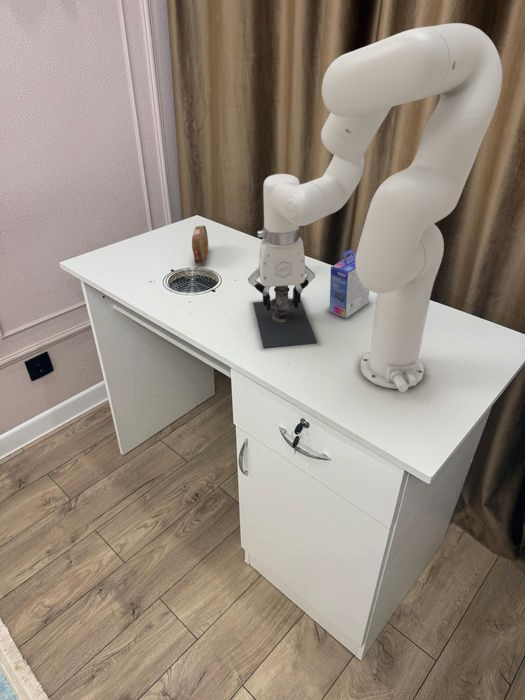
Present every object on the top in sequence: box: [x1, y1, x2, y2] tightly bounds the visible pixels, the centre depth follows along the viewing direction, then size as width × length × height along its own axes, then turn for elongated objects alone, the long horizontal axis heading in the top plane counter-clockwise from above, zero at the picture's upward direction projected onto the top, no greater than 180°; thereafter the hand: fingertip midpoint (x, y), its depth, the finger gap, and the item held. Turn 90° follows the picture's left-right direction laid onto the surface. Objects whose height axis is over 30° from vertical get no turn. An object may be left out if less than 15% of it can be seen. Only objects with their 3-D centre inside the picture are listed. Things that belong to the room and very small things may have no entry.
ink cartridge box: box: [329, 248, 370, 319], centre depth 121 cm, size 10×6×14 cm, turn 137°
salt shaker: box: [270, 285, 294, 322], centre depth 119 cm, size 6×6×12 cm
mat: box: [252, 298, 318, 349], centre depth 121 cm, size 20×12×1 cm, turn 7°
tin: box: [191, 225, 209, 265], centre depth 148 cm, size 15×3×8 cm, turn 179°
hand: (281, 305), depth 121 cm, fingers open, 6 cm apart
